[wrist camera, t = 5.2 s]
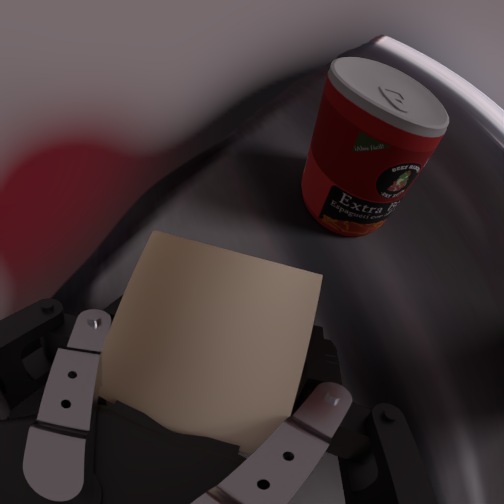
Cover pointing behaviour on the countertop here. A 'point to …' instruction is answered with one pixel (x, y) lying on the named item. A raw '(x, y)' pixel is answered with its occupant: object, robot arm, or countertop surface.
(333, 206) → the canned food
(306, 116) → the countertop surface
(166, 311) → the oak block
